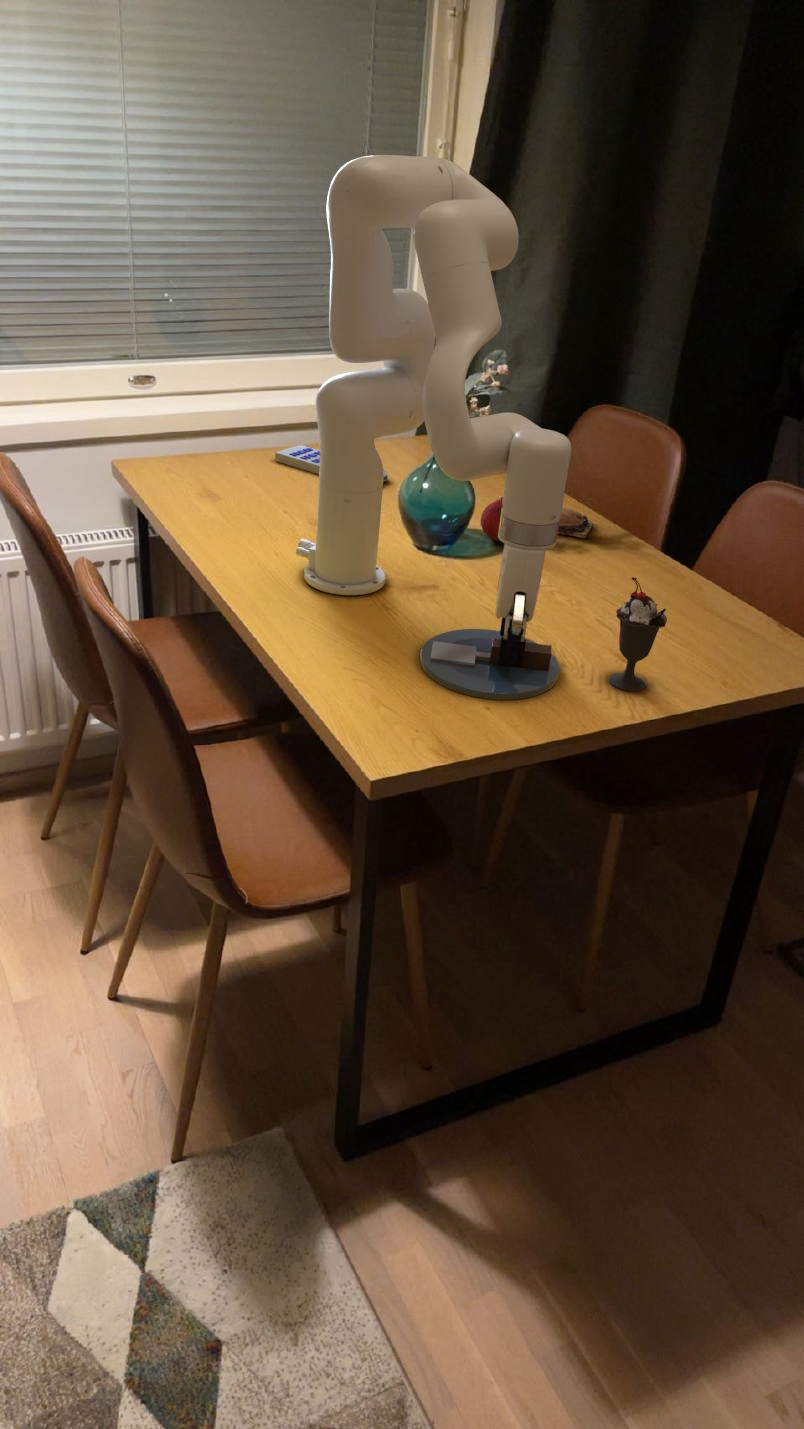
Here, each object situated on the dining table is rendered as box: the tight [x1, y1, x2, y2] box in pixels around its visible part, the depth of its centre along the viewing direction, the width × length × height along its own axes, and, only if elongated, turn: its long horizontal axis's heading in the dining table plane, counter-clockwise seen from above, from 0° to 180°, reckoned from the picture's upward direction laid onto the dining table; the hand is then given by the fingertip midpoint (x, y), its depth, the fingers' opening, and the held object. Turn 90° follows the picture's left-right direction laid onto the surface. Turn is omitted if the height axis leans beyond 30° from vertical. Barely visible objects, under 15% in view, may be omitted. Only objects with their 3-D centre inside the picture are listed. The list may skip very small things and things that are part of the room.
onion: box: [480, 495, 503, 542], centre depth 193 cm, size 6×6×8 cm
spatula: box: [430, 638, 552, 671], centre depth 152 cm, size 16×5×3 cm, turn 84°
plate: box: [419, 628, 560, 701], centre depth 153 cm, size 19×19×1 cm
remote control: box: [274, 444, 389, 483], centre depth 220 cm, size 8×23×2 cm, turn 56°
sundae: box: [608, 576, 668, 692], centre depth 149 cm, size 7×7×15 cm
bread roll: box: [558, 506, 594, 539], centre depth 203 cm, size 11×8×4 cm
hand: (510, 650), depth 152 cm, fingers open, 8 cm apart
